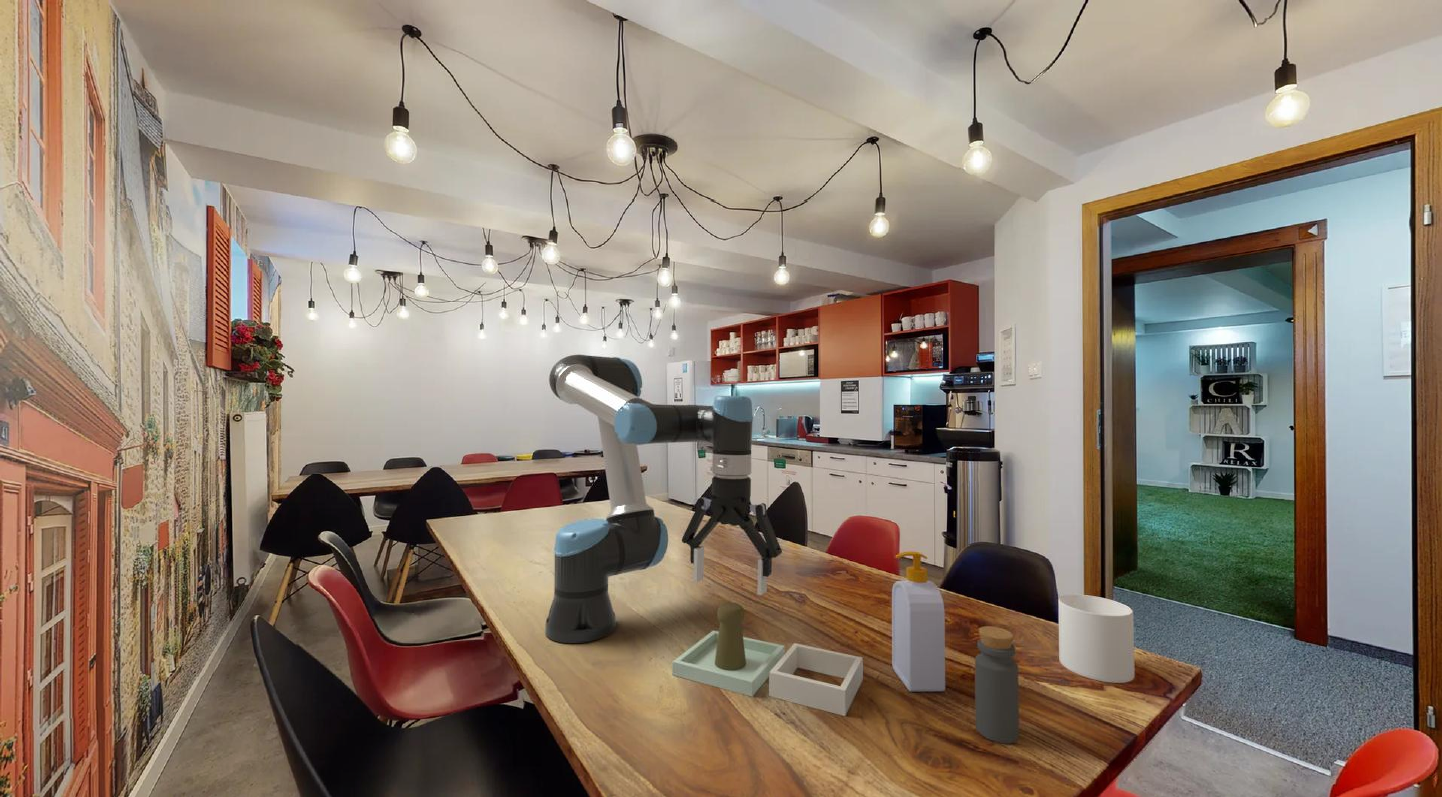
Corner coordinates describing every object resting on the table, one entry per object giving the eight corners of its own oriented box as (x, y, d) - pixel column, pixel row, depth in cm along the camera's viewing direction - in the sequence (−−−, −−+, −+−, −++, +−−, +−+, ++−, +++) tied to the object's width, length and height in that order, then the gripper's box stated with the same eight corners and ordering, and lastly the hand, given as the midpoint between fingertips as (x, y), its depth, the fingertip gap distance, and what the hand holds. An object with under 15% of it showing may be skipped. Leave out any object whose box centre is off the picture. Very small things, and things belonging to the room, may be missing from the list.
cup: (1067, 648, 109) (1066, 590, 110) (1139, 668, 101) (1137, 604, 101) (1052, 667, 101) (1051, 604, 101) (1128, 690, 93) (1127, 621, 93)
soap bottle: (887, 668, 100) (887, 546, 101) (924, 667, 100) (923, 546, 101) (905, 693, 91) (905, 559, 92) (945, 692, 91) (944, 559, 92)
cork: (743, 672, 97) (743, 611, 97) (711, 668, 98) (712, 608, 99) (748, 657, 103) (748, 600, 103) (718, 654, 104) (718, 597, 105)
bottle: (967, 721, 83) (967, 624, 83) (1003, 720, 83) (1002, 623, 84) (989, 744, 77) (988, 640, 77) (1027, 743, 77) (1026, 639, 78)
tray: (672, 674, 97) (672, 661, 97) (713, 641, 111) (713, 630, 111) (752, 696, 90) (752, 682, 90) (784, 658, 104) (784, 645, 104)
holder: (769, 695, 90) (769, 672, 90) (794, 664, 102) (794, 642, 102) (845, 716, 84) (845, 690, 84) (862, 679, 96) (862, 657, 96)
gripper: (666, 472, 104) (663, 580, 104) (786, 483, 93) (783, 605, 92) (685, 469, 111) (683, 570, 110) (799, 478, 99) (797, 592, 99)
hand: (729, 586), depth 101 cm, fingers open, 13 cm apart
